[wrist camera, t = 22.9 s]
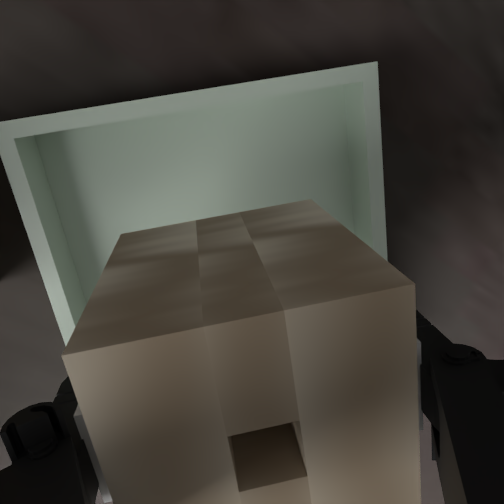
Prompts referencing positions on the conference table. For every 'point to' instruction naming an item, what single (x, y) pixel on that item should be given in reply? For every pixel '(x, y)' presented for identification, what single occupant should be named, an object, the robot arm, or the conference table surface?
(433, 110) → the conference table surface
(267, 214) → the maple block
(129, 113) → the sage tray
